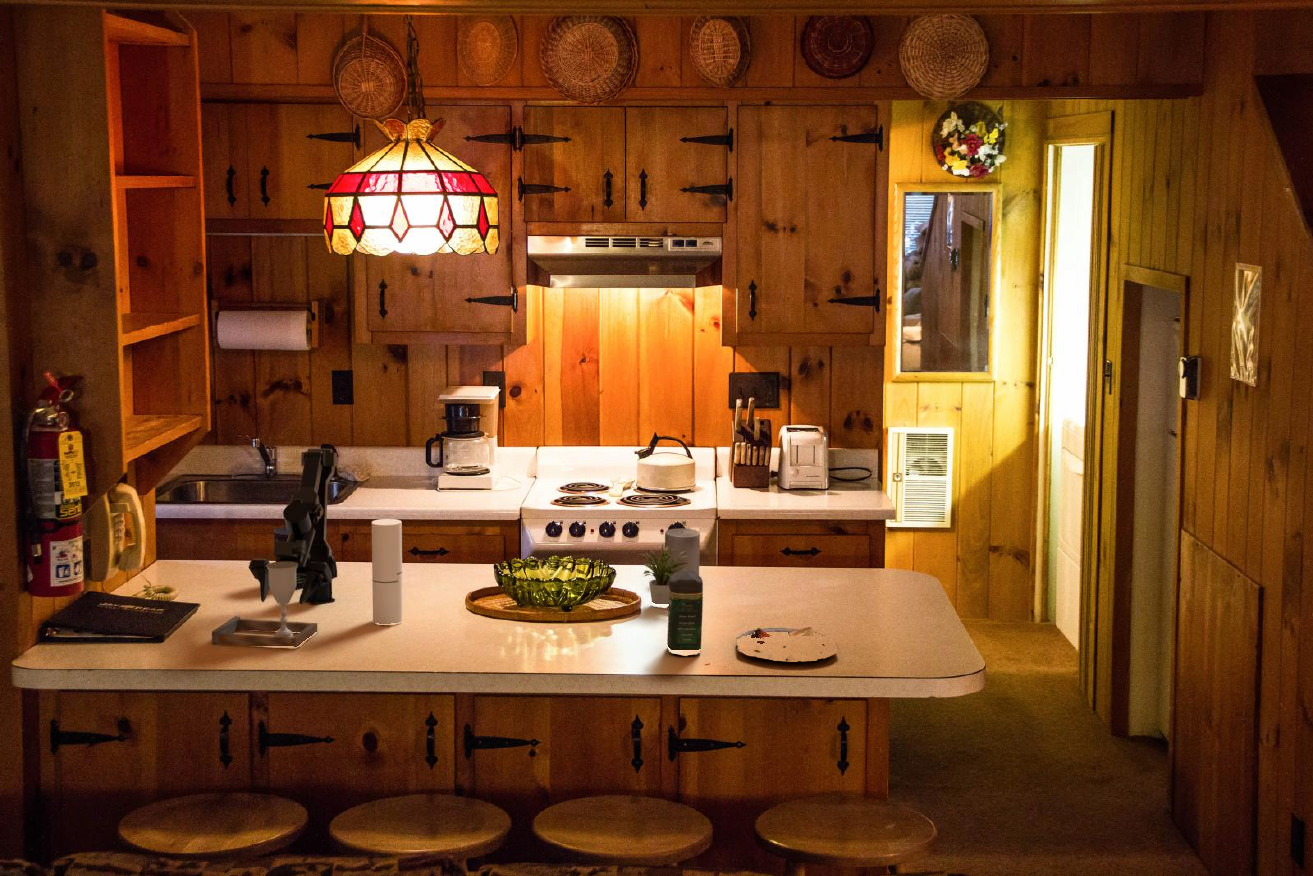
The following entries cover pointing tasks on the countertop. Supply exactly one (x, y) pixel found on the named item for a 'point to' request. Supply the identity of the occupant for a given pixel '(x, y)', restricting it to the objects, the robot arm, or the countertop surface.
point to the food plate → (792, 632)
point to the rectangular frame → (226, 636)
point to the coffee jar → (685, 611)
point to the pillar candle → (684, 548)
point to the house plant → (662, 574)
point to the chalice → (282, 589)
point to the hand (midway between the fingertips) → (281, 602)
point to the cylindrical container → (387, 571)
